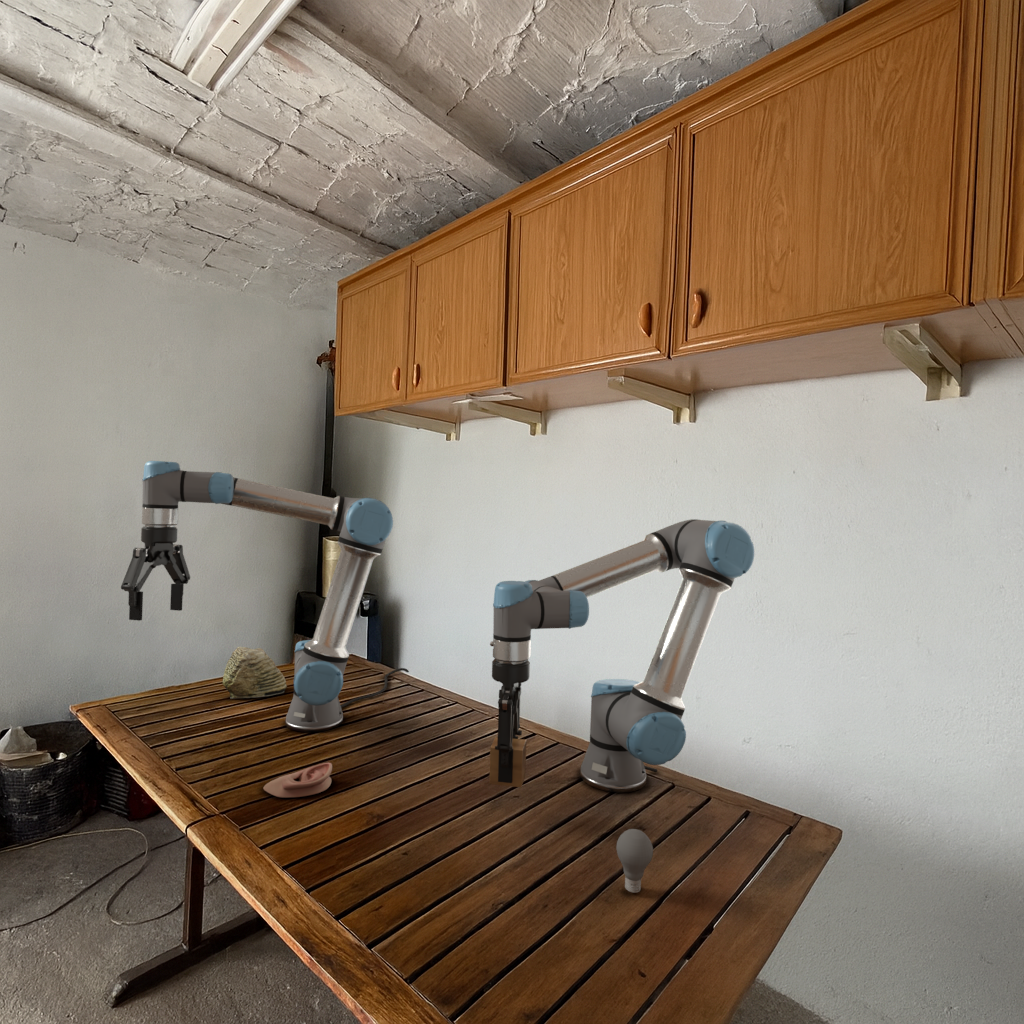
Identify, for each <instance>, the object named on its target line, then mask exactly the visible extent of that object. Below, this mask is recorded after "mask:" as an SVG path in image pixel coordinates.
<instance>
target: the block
mask: <svg viewBox="0 0 1024 1024" xmlns="http://www.w3.org/2000/svg"><path fill="white" fill-rule="evenodd" d="M497 742H498V736H495V737H494V739H493V741H492V744H491V745H490V748H489V782H488V783H489V784H488V785H494V786H504V787H513V788H522V787H523V784H524V781H525V777H526V769H527V767H526V766H527V739H525V738H523V739H522V738H518V739H513V740H512V746H513V775H512V783H505V782H498V766H499V750H496V749H495V746H497Z"/></svg>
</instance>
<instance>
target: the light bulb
mask: <svg viewBox="0 0 1024 1024" xmlns="http://www.w3.org/2000/svg"><path fill="white" fill-rule="evenodd" d="M615 849H616V854H617V857H618V859H619V861H620V863H621V865H622V867H623V873H624V874H623V875H624V876H625V878H624V888H625V890H627V891H628V892H630V893H634V894H635V893H639V892H640V891H641V889H642V887H641V886H642V879H643V877H644V875H645V871H646V868H647V867H648V866H649V864H650V863H651V861H652V859H653V855H654V847H653V843H652V841H651V838H649V836H648V835H647V834H646V833H645V832H643V831H642V830H641V829H636V828H629V829H627V830H625V831H623V832H622V833H621V834H620V835H619V837H618V839H617V841H616V847H615Z"/></svg>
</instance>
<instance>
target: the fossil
mask: <svg viewBox="0 0 1024 1024" xmlns="http://www.w3.org/2000/svg"><path fill="white" fill-rule="evenodd" d="M222 676H223V677H222V685H223V687H224V688H225V690H226V691H228V693H229V698H230V699H250V698H264V697H271V696H275V695H281V694H284V693H285V691H286V689H287V687H288V686H287V680H286V678H285V676H284V674H283V673H282V672H281V669H279V668H278V667H277V665H276V663H275V662H274V660H273V659H272V658H271V657H270V656H269V655H268V654H267V653H266V652H265V650H264V649H263V648H260V647H258V648H251V647H247V646H246V647H245V646H238V647H237V648H236V649H235V650H233V651H232V653H231V656H230V657H229V659H228V660H227V663H226V666H225V668H224V671H223V675H222Z"/></svg>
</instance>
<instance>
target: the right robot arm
mask: <svg viewBox="0 0 1024 1024" xmlns="http://www.w3.org/2000/svg"><path fill="white" fill-rule="evenodd" d="M754 559H755V546H754V542H753V540H752V538H751V535H750V534H749V532H748V531H747V530H746V528H744V527H743V526H741V525H739V524H737V523H735V522H730V521H726V520H708V519H698V518H697V519H696V518H695V519H694V518H693V519H691V518H690V519H685V520H681V521H679V522H676V523H672V524H671V525H668V526H665V527H663V528H661V529H658V530H656V531H653V532H650V533H648V534H646V535H645V536H644V539H643V540H641V541H639V542H637V543H634V544H631V545H629V546H626V547H623V548H621V549H618V550H616V551H613V552H611V553H608V554H605V555H602V556H600V557H597V558H594V559H592V560H590V561H587V562H584V563H582V564H578V565H576V566H574V567H571V568H568V569H566V570H563V571H561V572H559V573H556V574H553V575H551V576H547V577H545V578H542V579H539V580H538V579H537V580H536V579H528V580H525V581H522V580H503V581H499V582H498V583H497V584H496V585H495V587H494V595H493V603H492V607H493V628H492V629H493V630H492V632H493V633H492V635H493V636H492V637H493V638H492V641H490V643H489V645H490V647H493V648H492V658H493V660H492V661H491V678H492V679H493V680H494V681H495V682H498V683H501V684H502V685H501V687H500V689H499V690H498V700H497V704H498V707H497V708H498V714H497V715H498V718H497V737H498V742H497V746H495V749H496V750H499V766H498V782H505V783H512V775H513V746H512V740H513V739H519V736H522V734H523V730H521V729H520V728H521V723H520V722H521V719H520V718H521V695H522V684H523V683H526V682H527V681H529V679H530V670H531V662H530V661H529V660H530V659H531V650H532V649H531V647H532V646H531V645H532V642H531V641H532V636H531V635H532V630H546V629H573V628H582V627H584V626H585V625H586V624H587V622H588V621H589V616H590V603H589V600H588V598H591V597H593V596H595V595H597V594H600V593H603V592H605V591H607V590H610V589H614V588H615V587H618V586H620V585H623V584H626V583H628V582H630V581H633V580H635V579H638V578H641V577H643V576H646V575H648V574H652V573H653V572H655V571H656V572H658V573H665V572H668V571H670V570H674V569H678V571H679V574H680V576H681V583H680V584H679V585H680V586H679V587H678V590H677V593H676V596H675V598H674V601H673V603H672V606H671V609H670V610H669V613H668V616H667V619H666V621H665V623H664V626H663V629H662V631H661V634H660V637H659V638H658V642H657V644H656V647H655V650H654V652H653V655H652V657H651V660H650V662H649V665H648V667H647V670H646V673H645V675H644V678H643V680H642V681H637V680H633V679H627V678H626V679H625V678H605V679H599V680H596V681H595V682H594V683H593V684H592V689H591V695H590V698H591V701H590V702H591V704H590V728H589V744H588V746H587V749H586V751H585V755H584V756H583V757H584V758H583V761H582V762H581V766H580V773H579V774H580V778H581V780H582V781H583V782H584V783H586V784H587V785H589V786H591V787H592V788H595V789H597V790H601V791H606V792H610V793H611V792H612V793H631V792H636V791H639V790H640V789H641V790H642V789H643V788H644V787H645V786H646V784H647V771H649V772H653V773H658V769H657V768H654V767H650V766H660V765H665V764H666V763H668V762H670V761H672V760H674V759H675V758H676V757H677V756H678V755H679V754H680V753H681V752H682V750H683V748H684V745H685V743H686V739H687V731H686V730H685V728H686V727H685V724H684V722H683V721H682V718H683V716H684V713H685V710H686V706H685V704H684V701H683V695H684V691H685V689H686V687H687V685H688V681H689V679H690V676H691V674H692V671H693V668H694V666H695V663H696V660H697V658H698V655H699V653H700V650H701V647H702V644H703V642H704V639H705V637H706V634H707V631H708V629H709V626H710V624H711V620H712V618H713V615H714V613H715V610H716V608H717V605H718V602H719V601H720V597H721V595H722V594H723V593H725V592H728V591H730V590H731V589H732V587H733V584H734V582H735V580H736V578H739V577H742V576H743V575H744V574H746V573H748V572H749V571H750V569H751V568H752V565H753V563H754ZM519 729H520V730H519ZM645 764H646V765H645ZM648 765H650V766H648Z"/></svg>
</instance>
